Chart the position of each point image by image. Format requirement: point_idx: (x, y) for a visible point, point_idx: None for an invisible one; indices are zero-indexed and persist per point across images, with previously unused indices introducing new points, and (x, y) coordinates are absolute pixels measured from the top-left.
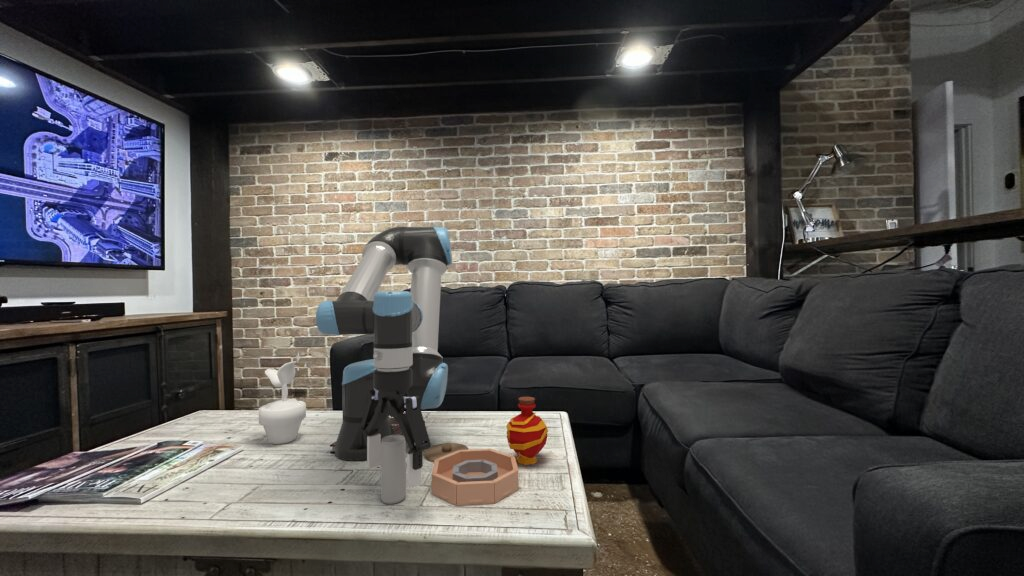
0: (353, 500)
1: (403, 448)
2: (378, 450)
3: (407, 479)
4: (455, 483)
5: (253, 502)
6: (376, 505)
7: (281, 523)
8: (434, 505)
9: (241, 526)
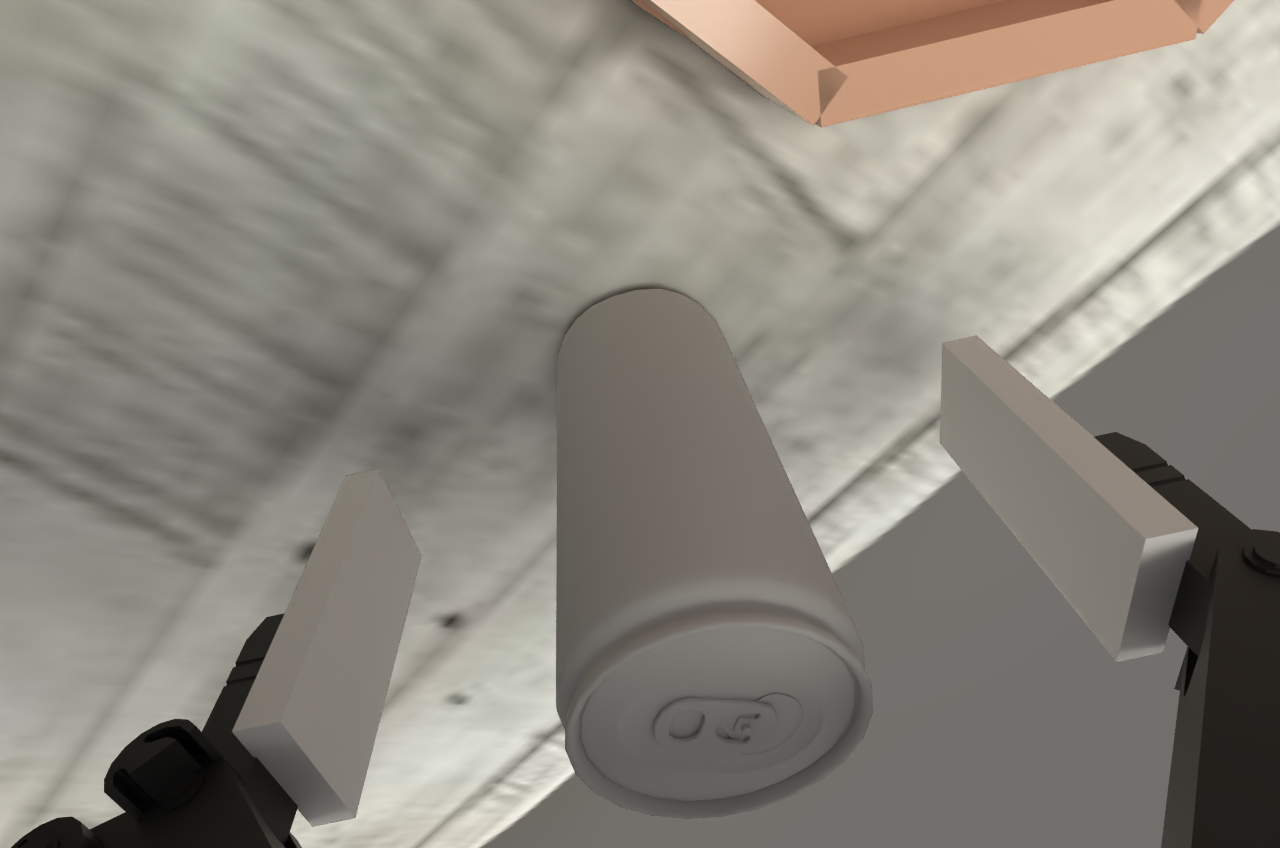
0: (504, 536)
1: (830, 576)
2: (353, 588)
3: (971, 477)
4: (1175, 29)
5: None
6: None
7: (539, 764)
8: (927, 167)
9: (474, 843)
